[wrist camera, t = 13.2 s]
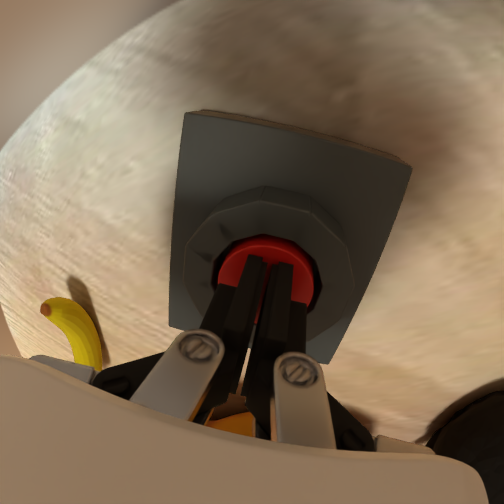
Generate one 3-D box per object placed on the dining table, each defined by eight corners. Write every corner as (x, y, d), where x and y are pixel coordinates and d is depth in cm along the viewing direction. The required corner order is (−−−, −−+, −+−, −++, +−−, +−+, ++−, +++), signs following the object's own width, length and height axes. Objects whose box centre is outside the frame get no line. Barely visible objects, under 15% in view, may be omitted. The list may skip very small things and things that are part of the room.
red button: (234, 216, 12) (224, 235, 11) (323, 237, 12) (326, 259, 10) (222, 288, 14) (212, 313, 12) (300, 307, 14) (298, 333, 12)
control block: (201, 109, 13) (164, 115, 9) (397, 157, 12) (430, 179, 9) (181, 302, 18) (155, 349, 14) (327, 338, 17) (329, 391, 14)
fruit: (116, 373, 23) (92, 416, 19) (97, 366, 24) (71, 407, 19) (86, 276, 18) (42, 322, 14) (64, 271, 19) (21, 313, 14)
